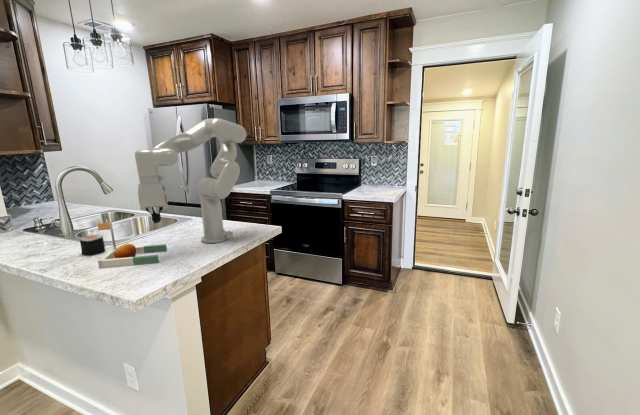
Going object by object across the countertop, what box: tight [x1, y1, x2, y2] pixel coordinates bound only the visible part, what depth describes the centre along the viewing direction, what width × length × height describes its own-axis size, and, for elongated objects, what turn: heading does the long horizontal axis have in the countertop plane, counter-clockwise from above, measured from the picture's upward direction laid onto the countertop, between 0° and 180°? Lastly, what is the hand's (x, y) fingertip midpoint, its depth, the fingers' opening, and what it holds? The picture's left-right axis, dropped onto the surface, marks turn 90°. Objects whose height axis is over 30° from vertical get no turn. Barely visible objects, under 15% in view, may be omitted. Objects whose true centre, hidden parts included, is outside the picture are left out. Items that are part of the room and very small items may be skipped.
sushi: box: [79, 234, 106, 257], centre depth 137 cm, size 8×8×8 cm
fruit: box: [114, 243, 137, 259], centre depth 129 cm, size 8×8×8 cm
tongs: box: [97, 222, 168, 269], centre depth 128 cm, size 26×15×15 cm, turn 103°
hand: (157, 222), depth 129 cm, fingers closed
